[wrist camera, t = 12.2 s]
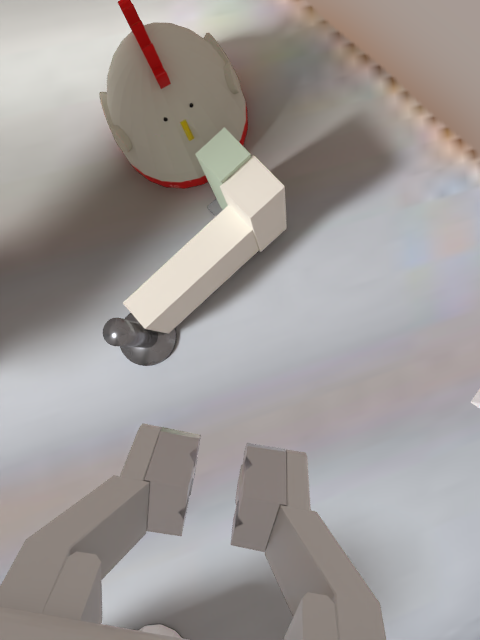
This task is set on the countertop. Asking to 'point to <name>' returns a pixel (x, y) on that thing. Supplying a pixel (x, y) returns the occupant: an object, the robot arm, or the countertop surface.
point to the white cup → (160, 630)
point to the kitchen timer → (170, 99)
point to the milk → (476, 399)
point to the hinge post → (139, 340)
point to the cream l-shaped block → (214, 249)
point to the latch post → (221, 164)
